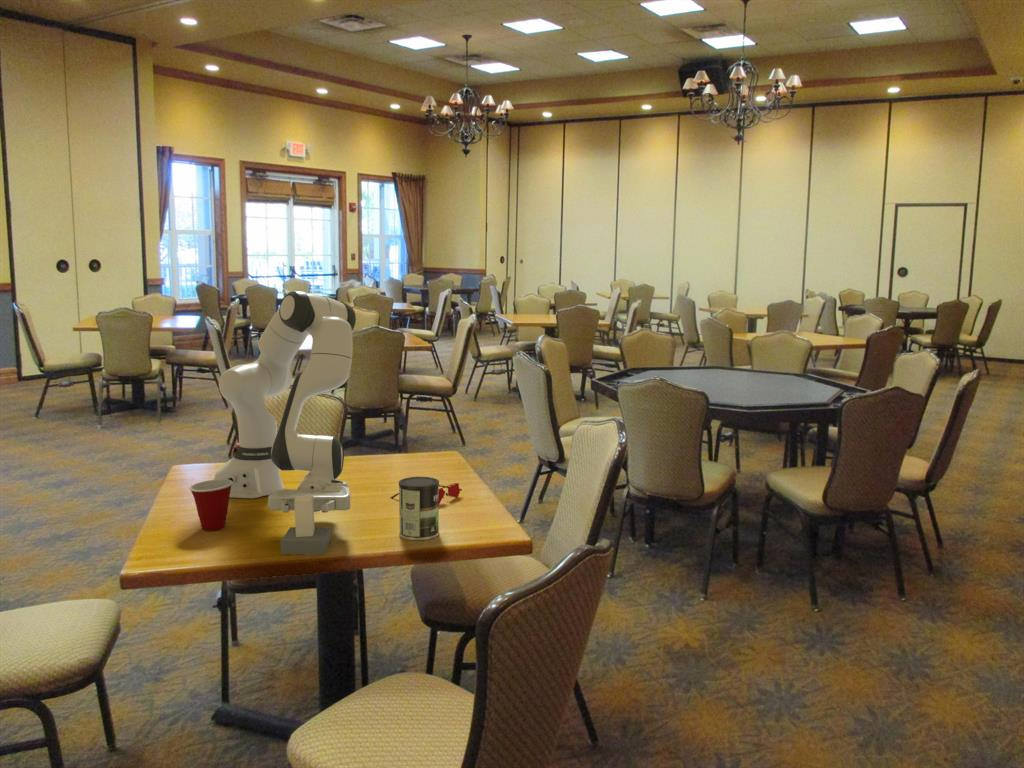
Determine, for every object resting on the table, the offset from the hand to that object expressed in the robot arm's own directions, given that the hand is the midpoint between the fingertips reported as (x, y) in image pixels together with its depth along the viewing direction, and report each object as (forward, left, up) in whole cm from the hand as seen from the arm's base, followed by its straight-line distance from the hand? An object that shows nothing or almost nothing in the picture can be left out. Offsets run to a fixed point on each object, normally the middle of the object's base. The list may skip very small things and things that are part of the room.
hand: (305, 509), depth 209 cm
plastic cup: (-27, +17, -10) cm, 33 cm away
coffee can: (+27, +11, -10) cm, 31 cm away
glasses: (+28, +45, -11) cm, 54 cm away
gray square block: (0, +1, -10) cm, 10 cm away
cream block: (0, +1, -6) cm, 6 cm away
